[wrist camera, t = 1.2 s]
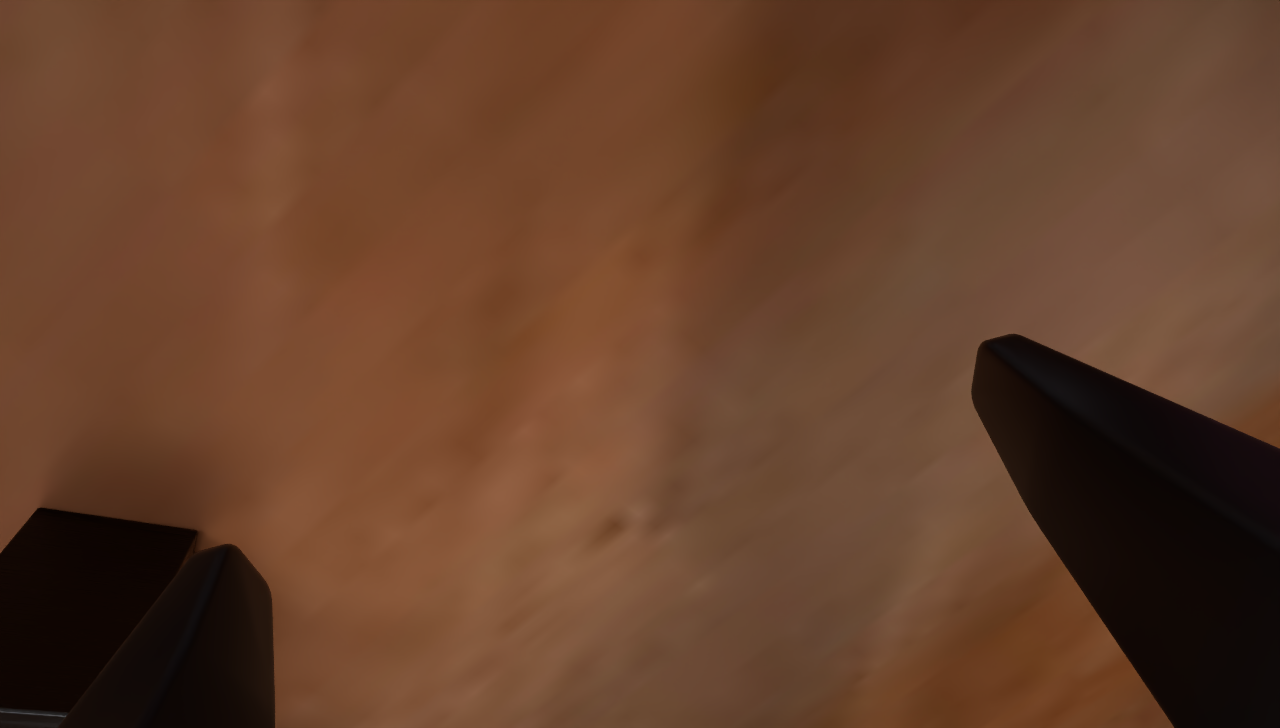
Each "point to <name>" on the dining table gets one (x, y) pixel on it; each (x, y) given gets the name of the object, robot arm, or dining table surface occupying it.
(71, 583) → the book rack
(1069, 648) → the dining table surface
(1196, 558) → the robot arm
